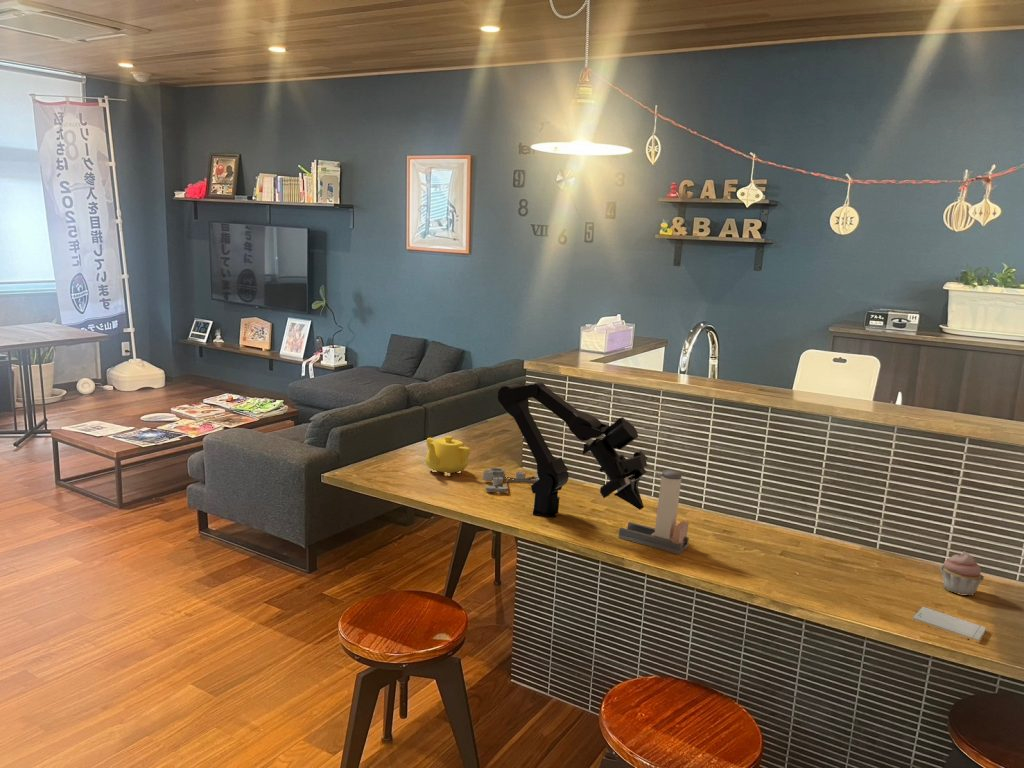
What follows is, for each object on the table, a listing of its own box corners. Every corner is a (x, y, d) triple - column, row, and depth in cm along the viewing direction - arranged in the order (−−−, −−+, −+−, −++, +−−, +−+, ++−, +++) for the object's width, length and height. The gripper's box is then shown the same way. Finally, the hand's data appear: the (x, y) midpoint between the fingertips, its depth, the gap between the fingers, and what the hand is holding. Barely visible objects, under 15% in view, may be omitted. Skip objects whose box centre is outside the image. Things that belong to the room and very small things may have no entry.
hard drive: (913, 616, 161) (979, 638, 153) (922, 605, 167) (987, 626, 159) (911, 623, 161) (978, 646, 153) (921, 612, 167) (986, 633, 159)
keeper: (649, 539, 193) (657, 472, 190) (656, 534, 197) (663, 468, 195) (671, 545, 190) (680, 477, 187) (678, 540, 194) (686, 473, 192)
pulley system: (460, 487, 231) (498, 497, 222) (461, 472, 231) (499, 481, 222) (515, 476, 253) (551, 484, 244) (516, 462, 252) (552, 470, 243)
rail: (618, 537, 196) (621, 514, 195) (628, 530, 203) (631, 507, 202) (679, 554, 188) (682, 529, 187) (688, 546, 194) (691, 522, 193)
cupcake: (933, 579, 186) (940, 541, 184) (976, 588, 182) (984, 549, 181) (938, 593, 177) (946, 553, 176) (984, 603, 174) (992, 562, 172)
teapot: (420, 465, 249) (422, 430, 247) (463, 466, 252) (465, 432, 250) (424, 477, 235) (426, 441, 233) (469, 478, 238) (472, 442, 237)
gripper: (616, 448, 188) (652, 501, 184) (643, 436, 204) (677, 485, 200) (585, 471, 193) (619, 523, 190) (613, 458, 209) (646, 506, 206)
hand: (642, 508), depth 196 cm, fingers closed
